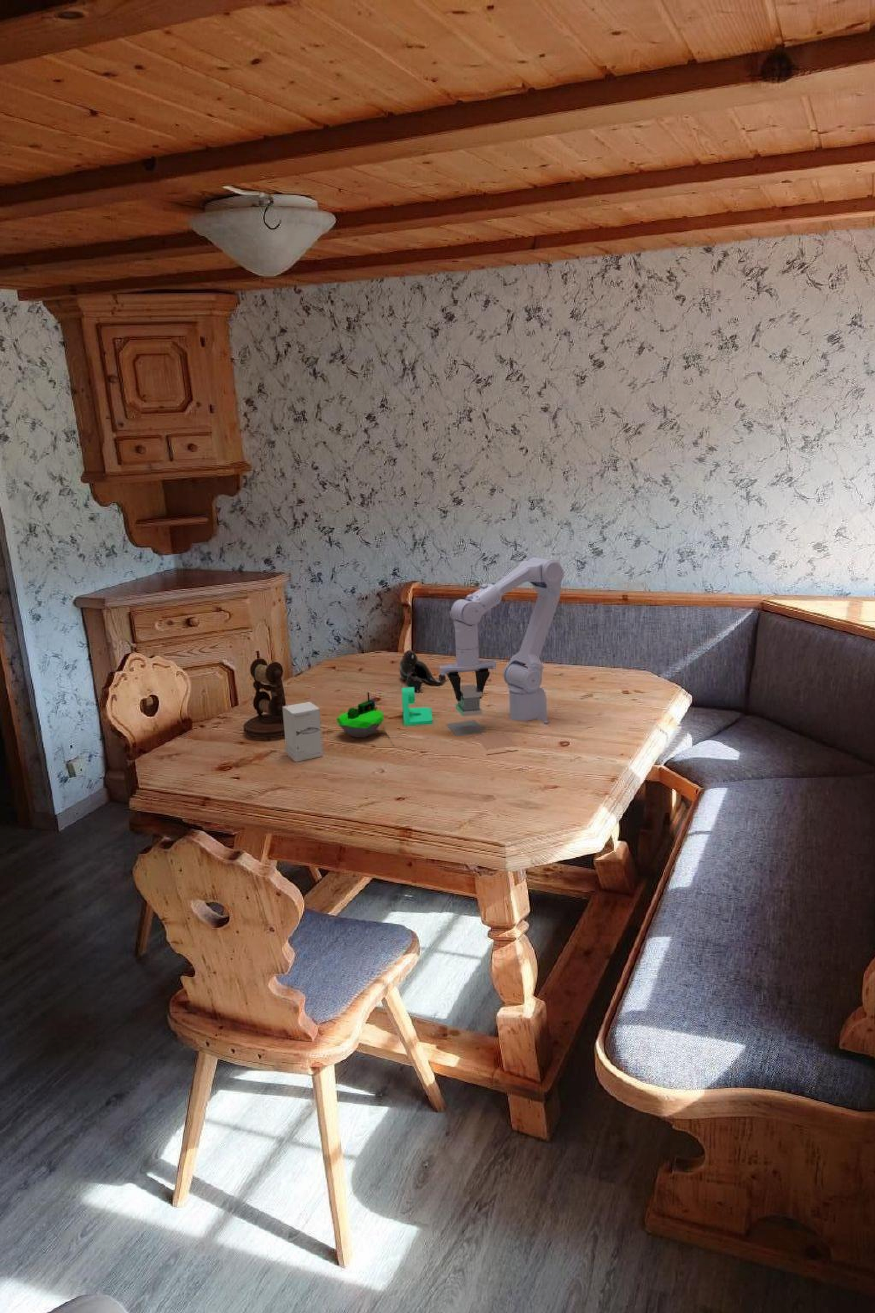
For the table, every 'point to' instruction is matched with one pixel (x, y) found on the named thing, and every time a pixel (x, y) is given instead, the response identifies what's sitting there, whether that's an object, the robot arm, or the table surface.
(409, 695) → the camera mount
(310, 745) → the supplement box
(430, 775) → the table surface
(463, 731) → the stand
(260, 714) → the brown upright round-based piece
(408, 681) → the cat figurine
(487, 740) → the stand
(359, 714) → the green floating island model
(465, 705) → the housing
